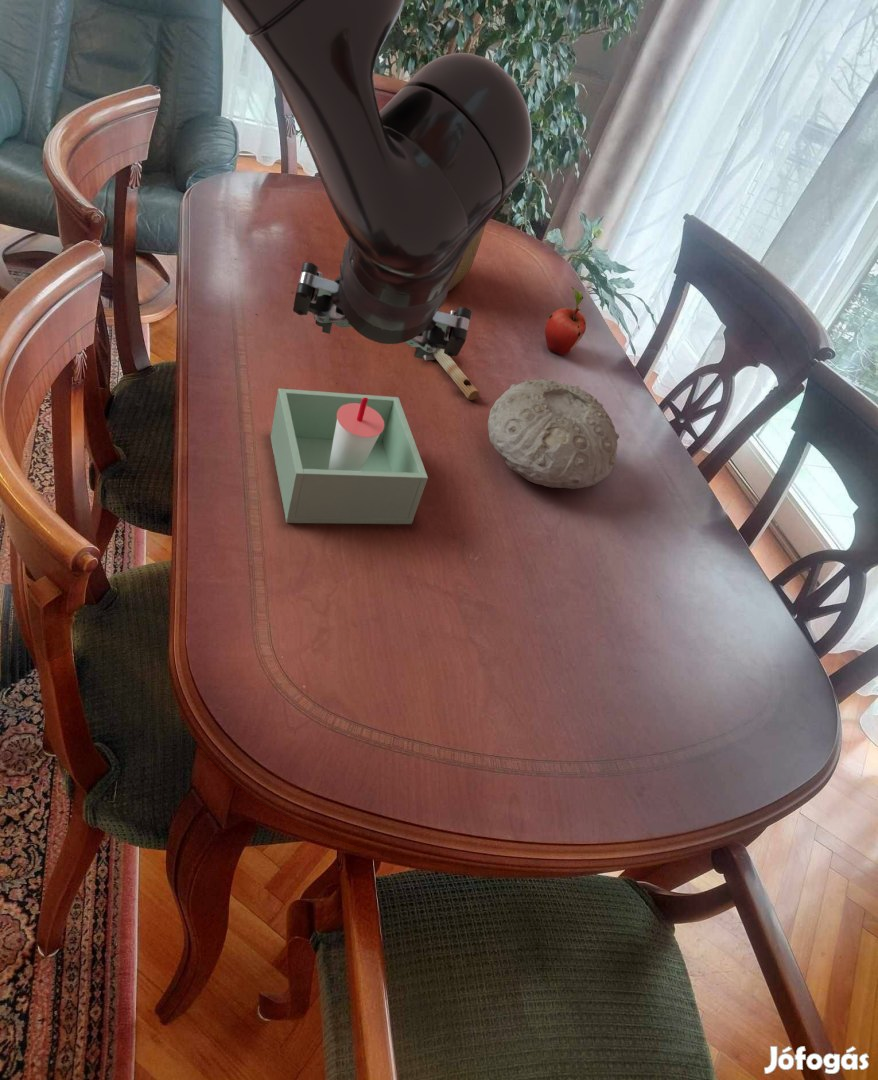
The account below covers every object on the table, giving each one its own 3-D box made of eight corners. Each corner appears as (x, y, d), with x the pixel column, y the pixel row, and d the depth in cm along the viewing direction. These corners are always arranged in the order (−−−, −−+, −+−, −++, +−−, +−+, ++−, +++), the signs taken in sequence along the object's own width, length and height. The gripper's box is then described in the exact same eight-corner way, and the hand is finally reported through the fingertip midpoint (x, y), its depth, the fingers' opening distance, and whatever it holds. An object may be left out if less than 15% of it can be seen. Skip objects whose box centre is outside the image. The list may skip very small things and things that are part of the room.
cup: (310, 465, 91) (333, 386, 83) (348, 454, 95) (374, 378, 86) (335, 497, 89) (361, 420, 81) (372, 485, 93) (401, 410, 84)
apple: (583, 361, 130) (608, 308, 124) (551, 363, 127) (574, 308, 120) (558, 335, 135) (581, 282, 128) (527, 336, 131) (549, 282, 125)
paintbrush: (421, 305, 122) (487, 387, 112) (416, 320, 124) (480, 402, 114) (400, 306, 120) (465, 389, 110) (395, 321, 122) (459, 404, 112)
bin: (286, 523, 85) (296, 473, 80) (270, 437, 95) (278, 388, 90) (411, 524, 91) (428, 477, 86) (385, 443, 100) (398, 396, 95)
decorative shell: (610, 518, 102) (645, 460, 95) (481, 491, 99) (507, 429, 92) (589, 435, 115) (618, 379, 108) (474, 409, 111) (497, 349, 105)
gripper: (502, 254, 56) (458, 316, 72) (307, 194, 54) (306, 273, 70) (479, 354, 56) (440, 395, 72) (282, 299, 54) (287, 354, 70)
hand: (374, 335), depth 71 cm, fingers open, 8 cm apart
